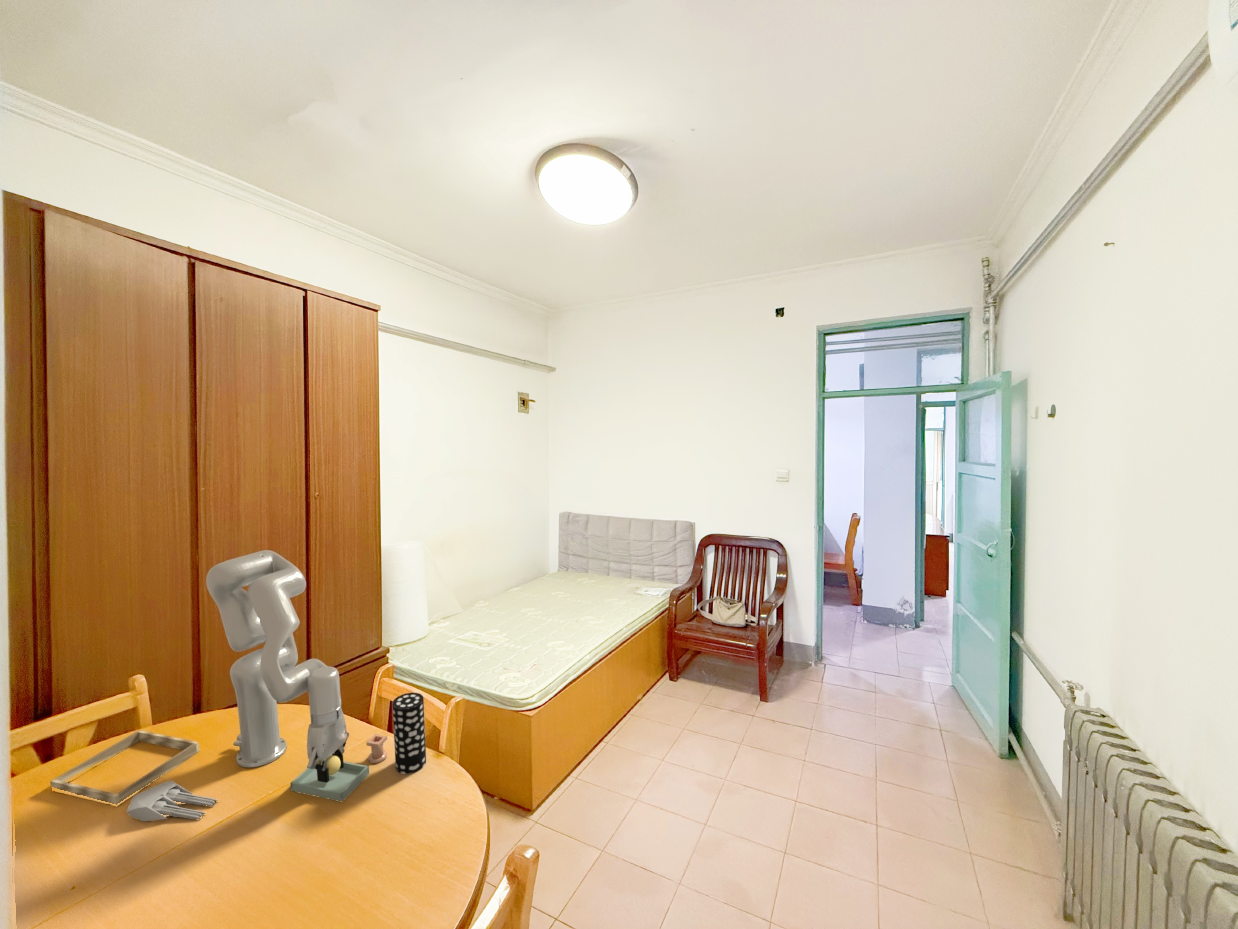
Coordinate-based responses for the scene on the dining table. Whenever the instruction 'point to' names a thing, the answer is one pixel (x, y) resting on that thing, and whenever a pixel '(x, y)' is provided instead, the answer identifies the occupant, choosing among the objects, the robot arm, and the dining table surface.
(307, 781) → the tray
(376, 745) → the egg cup
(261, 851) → the dining table surface
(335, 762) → the ball
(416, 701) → the white-spotted black cylinder
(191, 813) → the turret
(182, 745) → the frame
